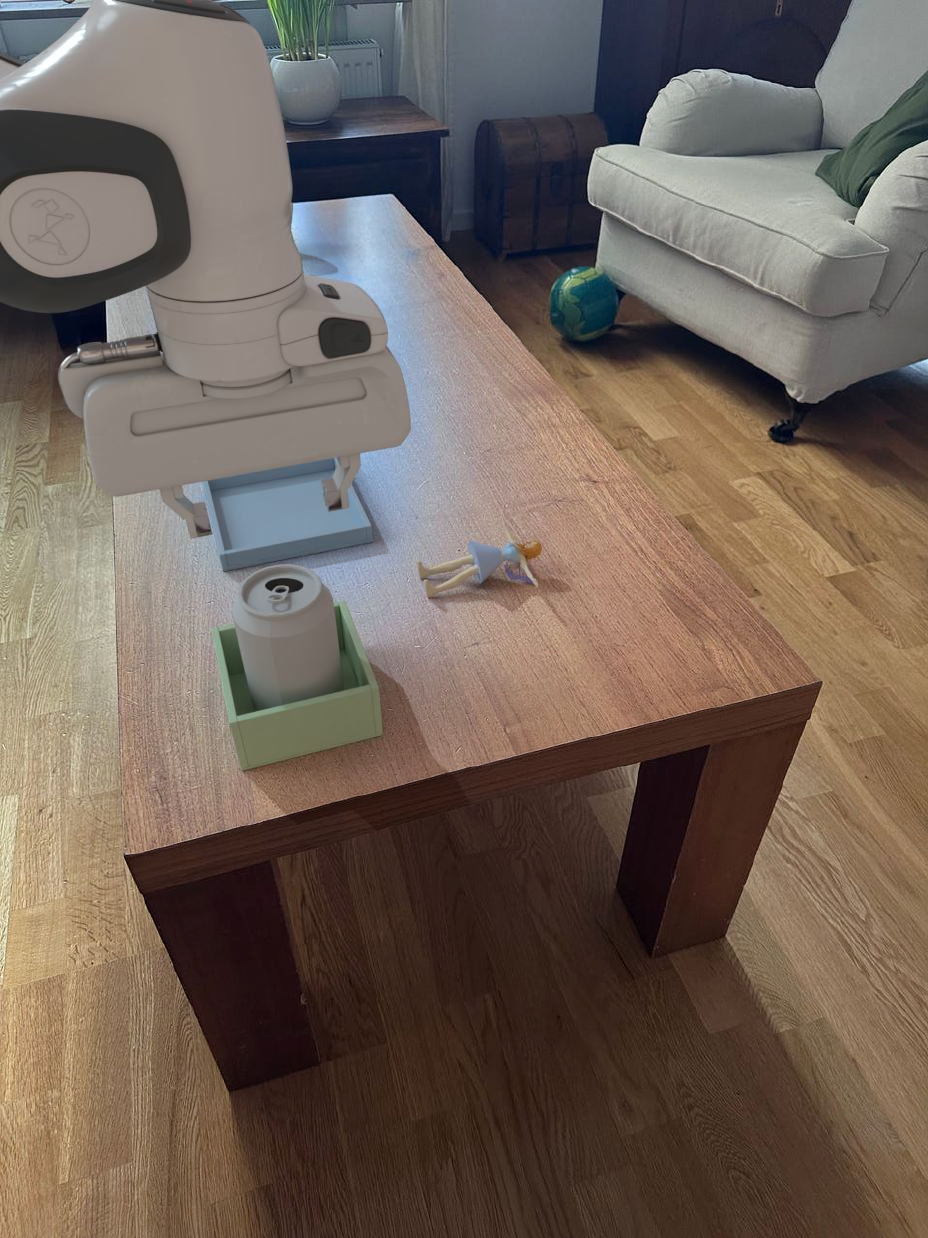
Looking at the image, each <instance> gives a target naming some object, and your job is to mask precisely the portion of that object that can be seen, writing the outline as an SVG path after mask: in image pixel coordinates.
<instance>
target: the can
mask: <svg viewBox="0 0 928 1238" xmlns="http://www.w3.org/2000/svg"><path fill="white" fill-rule="evenodd" d="M231 614H232V619H233V624H235V629H236V633H237V638H238V642H239V647H240V651H241V656H242V660H243V665H244V669H245V674H246V678H247V683H248V687H249V692H250V696H251V701H252V704H253V708H254V711H255V712H256V711H261V710H265V709H269V708H273V707H277V706H282V705H286V704H290V703H294V702H298V701H303V700H307V699H311V698H315V697H319V696H323V695H328V694H332V693H336V692H340V691H344V683H343V675H342V667H341V659H340V651H339V643H338V635H337V627H336V619H335V611H334V597H333V595H332V593H331V590H330V589H329V587H328V586H326V585H325V584H324V583H323V582H322V579H321V577H320V575H318V574H317V573H316V572H315V571H314V570H312V569H310V568H307V567H305V566H302V565H297V564H292V563H290V564H274V565H271V566H265V567H263V568H261V569H259V570H256V571H254V572H252V573H251V574H250V575H249V576H247V577H245V578H244V579H243V580H242V582H241V584H240V585H239V586H238V589H237V593H236V598H235V600H234V601H233V603H232V608H231Z"/></svg>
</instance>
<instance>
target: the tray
mask: <svg viewBox="0 0 928 1238" xmlns="http://www.w3.org/2000/svg"><path fill="white" fill-rule="evenodd" d="M338 463H339V462H338V460H337V458H331V459H326V460H320V461H315V462H309V463H304V464H298V465H292V466H287V467H281V468H276V469H270V470H264V471H259V472H253V473H248V474H242V475H237V476H231V477H226V478H220V479H214V480H209V481H203V482H202V486H203V491H204V495H205V499H206V504H207V509H208V512H209V513H208V514H209V518H210V523H211V527H212V529H213V535H214V538H215V542H216V547H217V552H218V557H219V560H220V564H221V568H222V572H227V571H231V570H232V571H233V570H236V569H237V570H238V569H242V568H247V567H252V566H258V565H262V564H267V563H274V562H278V561H283V560H288V559H293V558H299V557H304V556H307V555H313V554H318V553H323V552H328V551H329V552H330V551H334V550H338V549H344V548H349V547H353V546H359V545H365V544H369V543H374V538H373V537H374V536H373V527H372V524H371V521H370V519H369V518H368V515H367V513H366V510H365V509H364V507H363V504H362V503H361V501H360V499H359V496H358V494H357V492H356V490H355V488H354V486H353V483H352V484H351V485H350V487H349V488H348V489H347V491H348V500H349V508H346V509H341V510H335V511H330V512H328V510H327V506H326V505H325V502H324V497H323V493H324V491H323V489H322V482H321V480H324V479H329V478H332V477H333V474H334V472H335V470H336V468H337V465H338Z"/></svg>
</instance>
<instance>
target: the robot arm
mask: <svg viewBox="0 0 928 1238" xmlns="http://www.w3.org/2000/svg"><path fill="white" fill-rule="evenodd" d="M284 125H285V124H284V120H283V114H282V110H281V105H280V99H279V95H278V91H277V86H276V81H275V77H274V74H273V69H272V67H271V62H270V58H269V56H268V53H267V50H266V47H265V45H264V42H263V40H262V37H261V35H260V34H259V32H258V30H257V29H256V28H255V27H254V26H253V25H252V24H251V23H250V21H249V20H247V19H246V18H245V17H244V16H243V15H242V14H241V13H239V12H238V11H236V10H234V9H233V8H231V7H229V6H227V5H225V4H223V3H221V2H217V1H214V0H93V1H92V3H91V5H90V6H89V8H88V9H87V11H86V12H85V13H84V14H83V15H82V16H81V17H80V18H79V19H78V20H77V21H76V22H75V23H74V24H73V25H72V26H71V27H70V28H69V29H68V30H67V31H66V32H65V33H63V35H62V36H61V37H59V38H58V39H57V40H56V41H54V42H53V43H52V44H50V45H49V46H48V47H46V48H45V49H44V50H42V51H41V52H40V53H39V54H37V55H36V56H34V57H33V58H31V59H30V60H28V61H27V62H25V61H23V60H21V59H18V58H16V57H13V56H11V55H9V54H6V53H3V52H1V51H0V303H2V304H4V305H7V306H9V307H12V308H15V309H18V310H22V311H27V312H31V313H40V314H61V313H67V312H72V311H77V310H80V309H84V308H87V307H91V306H94V305H97V304H100V303H102V302H105V301H109V300H111V299H114V298H117V297H120V296H122V295H127V294H129V293H131V292H134V291H136V290H139V289H141V288H144V287H145V288H146V292H147V296H148V301H149V305H150V309H151V313H152V316H153V321H154V324H155V328H156V332H155V333H153V334H144V335H138V336H131V337H126V338H122V339H119V340H114V341H110V342H109V341H108V342H101V341H96V342H88V343H84V344H80V345H78V346H77V348H76V349H77V351H76V352H73V353H71V354H70V355H67V357H66V358H64V360H63V361H62V362H61V363H60V365H59V367H58V372H57V381H58V385H59V387H60V390H61V393H62V396H63V400H64V403H65V405H66V407H67V408H68V409H69V411H71V412H72V414H74V415H75V416H76V417H78V418H79V419H81V420H83V427H84V436H85V443H86V449H87V454H88V460H89V463H90V469H91V471H92V476H93V479H94V483H95V485H96V487H98V488H99V489H100V490H102V492H105V493H106V494H108V495H109V496H112V497H116V498H117V497H125V496H130V495H135V494H141V493H146V492H153V491H157V490H159V493H160V496H161V500H162V503H163V504H165V506H167V507H168V508H170V510H171V511H173V512H174V513H175V514H176V515H178V516H179V517H180V518H181V519H182V520H185V522H186V527H187V531H188V534H189V538H190V539H191V540H192V539H197V538H203V537H207V536H211V535H213V531H212V525H211V520H210V516H209V513H208V510H207V509H208V508H207V506H206V502H205V501H201V502H192V501H191V500H190V499H189V498H188V497H187V496H186V495H185V493H184V488H183V486H187V485H192V484H197V483H203V481H209V480H214V479H220V478H226V477H231V476H237V475H242V474H248V473H253V472H259V471H264V470H270V469H276V468H281V467H287V466H292V465H298V464H304V463H309V462H315V461H320V460H326V459H331V458H337V460H338V462H339V463H338V465H337V468H336V470H335V472H334V474H333V477H332V478H329V479H324V480H321V482H322V489H323V491H324V493H323V497H324V502H325V505H326V506H327V510H328V512H330V511H335V510H341V509H346V508H349V500H348V491H347V489H348V488H349V487H350V485H351V484H352V485H353V483H354V480H355V478H356V476H357V475H358V472H359V470H360V468H361V467H362V462H361V454H365V453H371V452H376V451H381V450H388V449H394V448H397V447H400V446H401V445H403V443H404V442H405V440H406V439H407V438H408V436H409V435H410V432H411V431H412V422H411V421H412V420H411V411H410V404H409V403H410V402H409V397H408V391H407V387H406V382H405V379H404V375H403V371H402V369H401V366H400V364H399V362H398V361H397V359H396V357H395V356H394V355H393V353H392V351H391V349H390V348H389V346H388V342H389V330H388V324H387V322H386V319H385V316H384V314H383V312H382V311H381V309H380V307H379V306H378V304H377V303H376V301H374V299H373V298H372V296H371V295H369V294H368V293H367V291H366V290H364V289H363V288H362V287H361V286H360V285H357V284H355V283H352V282H348V281H343V280H338V279H332V278H328V277H327V278H326V277H321V276H316V275H313V274H312V275H311V274H306V273H305V271H304V265H303V264H304V263H303V260H302V256H301V254H300V251H299V248H298V247H297V244H296V242H295V239H294V235H293V231H292V224H291V225H290V205H291V202H292V199H293V178H292V177H293V176H292V171H291V164H290V162H291V161H290V156H289V149H288V144H287V137H286V130H285V126H284ZM78 360H79V361H80V362H77V361H78Z"/></svg>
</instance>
